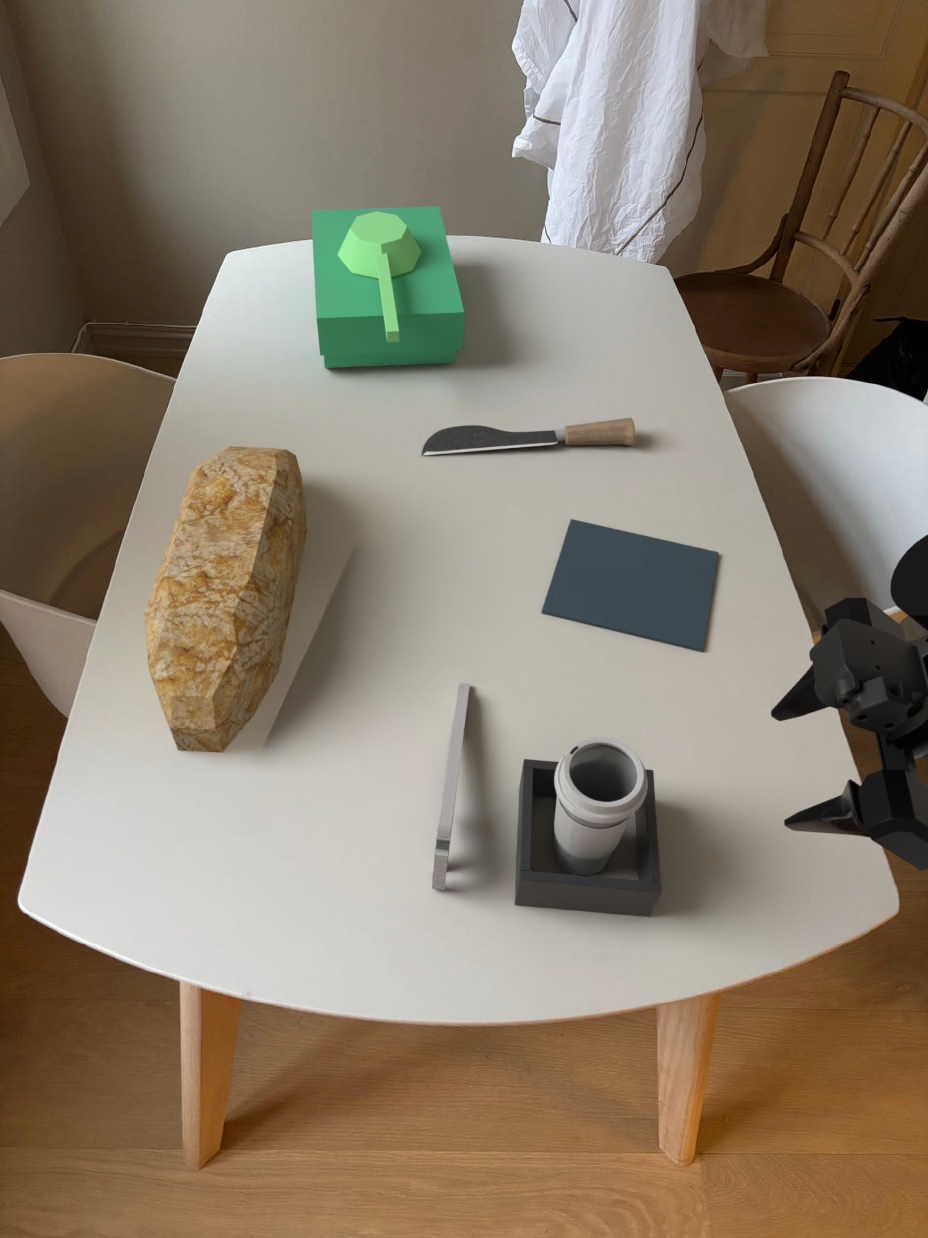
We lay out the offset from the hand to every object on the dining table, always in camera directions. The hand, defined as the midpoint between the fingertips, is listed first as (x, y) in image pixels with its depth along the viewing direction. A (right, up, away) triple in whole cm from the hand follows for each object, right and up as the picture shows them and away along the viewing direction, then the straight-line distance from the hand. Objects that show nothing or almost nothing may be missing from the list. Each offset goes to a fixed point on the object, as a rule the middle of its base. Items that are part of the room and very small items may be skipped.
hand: (780, 768), depth 68 cm
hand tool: (-15, +32, +44) cm, 56 cm away
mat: (-5, +15, +29) cm, 33 cm away
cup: (-13, -8, +9) cm, 18 cm away
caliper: (-24, -3, +13) cm, 27 cm away
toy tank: (-33, +49, +57) cm, 82 cm away
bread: (-45, +13, +26) cm, 54 cm away
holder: (-13, -8, +9) cm, 18 cm away
